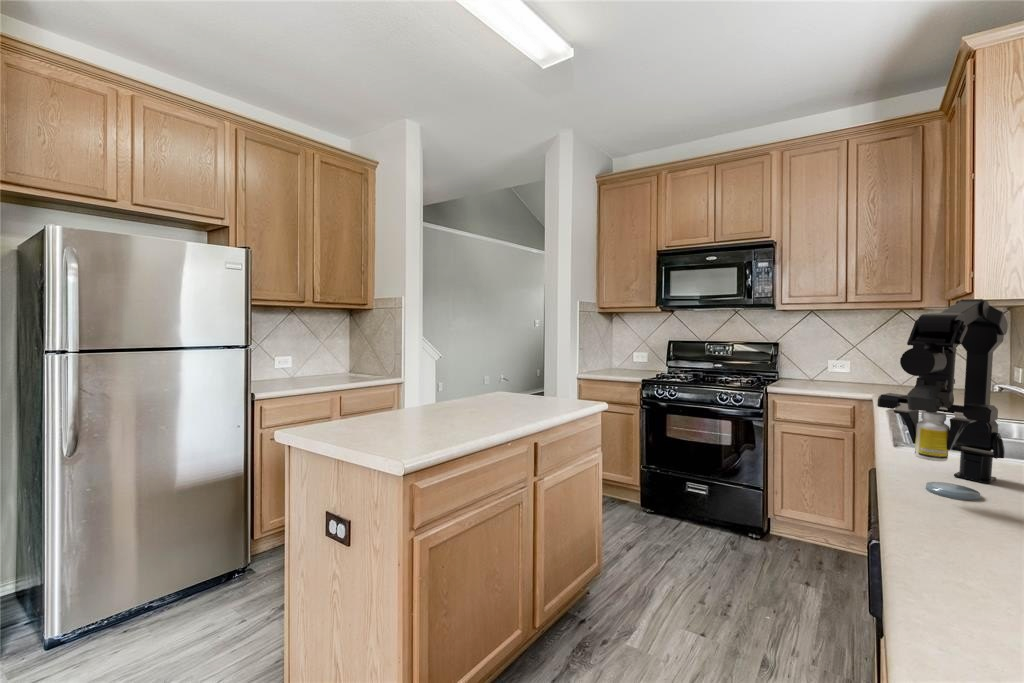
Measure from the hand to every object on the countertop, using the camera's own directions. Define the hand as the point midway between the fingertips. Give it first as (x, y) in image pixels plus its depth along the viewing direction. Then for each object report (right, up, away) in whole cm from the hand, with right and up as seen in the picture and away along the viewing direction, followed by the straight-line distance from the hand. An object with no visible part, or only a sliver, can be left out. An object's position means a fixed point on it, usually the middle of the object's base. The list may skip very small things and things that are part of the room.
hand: (931, 446), depth 105 cm
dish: (+9, -11, +5) cm, 15 cm away
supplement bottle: (0, -3, 0) cm, 3 cm away
